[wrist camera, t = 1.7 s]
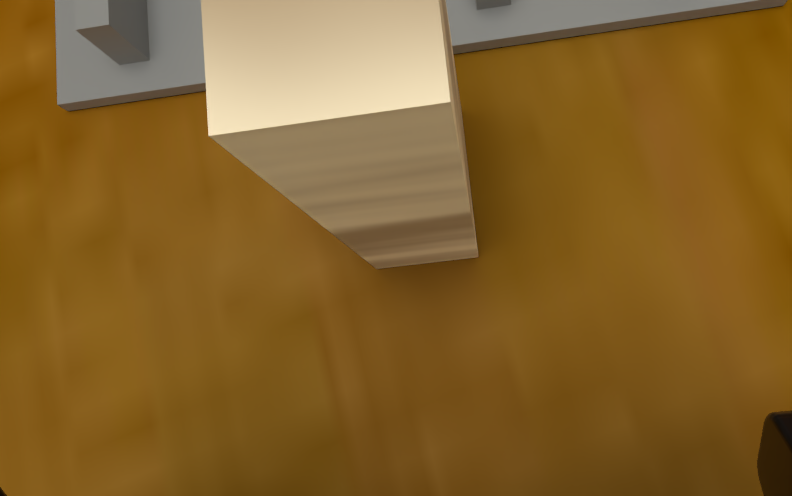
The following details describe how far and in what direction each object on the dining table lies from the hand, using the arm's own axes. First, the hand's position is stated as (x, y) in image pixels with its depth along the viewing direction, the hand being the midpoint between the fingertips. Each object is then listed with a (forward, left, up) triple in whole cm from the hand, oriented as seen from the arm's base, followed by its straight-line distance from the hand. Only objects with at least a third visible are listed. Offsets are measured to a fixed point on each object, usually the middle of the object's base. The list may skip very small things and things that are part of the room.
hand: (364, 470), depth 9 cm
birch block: (+6, -2, -13) cm, 14 cm away
